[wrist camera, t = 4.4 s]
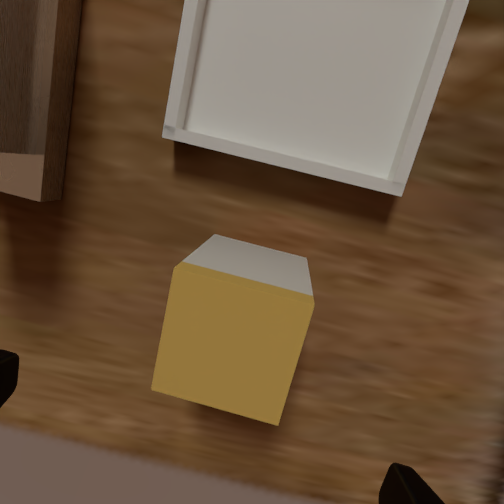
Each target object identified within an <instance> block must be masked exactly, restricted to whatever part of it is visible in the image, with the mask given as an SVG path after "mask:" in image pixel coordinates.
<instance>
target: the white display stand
mask: <svg viewBox="0 0 504 504" xmlns="http://www.w3.org/2000/svg"><path fill="white" fill-rule="evenodd" d="M81 8H82V0H0V192H4V193H8V194H12V195H16V196H19V197H23V198H27V199H31V200H35V201H38V202H44V201H52V200H61V199H62V191H63V181H64V171H65V162H66V152H67V143H68V133H69V123H70V114H71V104H72V95H73V85H74V75H75V66H76V56H77V47H78V37H79V27H80V18H81Z"/></svg>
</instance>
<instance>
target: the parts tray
mask: <svg viewBox="0 0 504 504" xmlns="http://www.w3.org/2000/svg"><path fill="white" fill-rule="evenodd" d="M468 2H469V0H185V2H184V8H183V14H182V20H181V26H180V32H179V38H178V44H177V50H176V56H175V62H174V68H173V74H172V80H171V85H170V91H169V97H168V103H167V109H166V115H165V121H164V127H163V133H162V137H163V138H167V139H171V140H174V141H178V142H183V143H187V144H191V145H195V146H199V147H203V148H207V149H211V150H215V151H219V152H223V153H227V154H231V155H235V156H239V157H243V158H247V159H251V160H255V161H259V162H263V163H267V164H271V165H275V166H279V167H283V168H287V169H291V170H295V171H299V172H303V173H307V174H311V175H315V176H319V177H323V178H327V179H331V180H335V181H339V182H344V183H348V184H352V185H356V186H360V187H364V188H368V189H372V190H376V191H380V192H384V193H388V194H392V195H396V196H400V197H402V194H403V191H404V188H405V185H406V182H407V179H408V176H409V173H410V170H411V168H412V165H413V162H414V159H415V156H416V153H417V150H418V147H419V144H420V141H421V139H422V136H423V133H424V130H425V127H426V124H427V121H428V118H429V115H430V112H431V110H432V107H433V104H434V101H435V98H436V95H437V92H438V89H439V86H440V83H441V81H442V78H443V75H444V72H445V69H446V66H447V63H448V60H449V57H450V54H451V52H452V49H453V46H454V43H455V40H456V37H457V34H458V31H459V28H460V25H461V23H462V20H463V17H464V14H465V11H466V8H467V5H468Z"/></svg>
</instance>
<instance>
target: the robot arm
mask: <svg viewBox="0 0 504 504" xmlns="http://www.w3.org/2000/svg"><path fill="white" fill-rule="evenodd" d="M18 369H19V356H18V355H17V354H16V353H13V352H10V351H6V350H1V349H0V408H1V406H2V405H3V404H4V403H5V402H6V401H7V399H8V398H9V397H10V396H11V395H12V393H13V392H14V390H15V388H16V386H17V380H18ZM379 504H445V503H444V502H443V501H442V500H441V499H440V498H439V497H438V496H437V494H436V493H435V492H434V491H433V490H432V489H431V488H430V487H429V486H428V485H427V484H426V482H425V481H424V480H423V479H422V478H421V477H420V476H419V475H418V474H417V473H416V471H415V470H414V469H413V468H411V467H409V466H406V465H402V464H399V463H392V464H391V465H390V467H389V469H388V472H387V474H386V476H385V479H384V481H383V484H382V486H381V488H380V492H379Z"/></svg>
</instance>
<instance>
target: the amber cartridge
mask: <svg viewBox="0 0 504 504" xmlns="http://www.w3.org/2000/svg"><path fill="white" fill-rule="evenodd" d="M314 306H315V304H314V298H313V292H312V286H311V280H310V275H309V269H308V263H307V258H305V257H301V256H297V255H293V254H289V253H285V252H282V251H278V250H274V249H270V248H266V247H262V246H258V245H254V244H251V243H247V242H243V241H239V240H235V239H231V238H227V237H224V236H220V235H216V234H214V235H213V236H212V237H211V238H210V239H208V240H207V241H206V242H205V243H204V244H202V245H201V246H200V247H199V248H197V249H196V250H195V251H194V252H193V253H191V254H190V255H189V256H188V257H186V258H185V259H184V260H183V261H182V262H180V263H179V264H178V265H177V266H176V267H174V270H173V276H172V281H171V286H170V291H169V297H168V302H167V307H166V312H165V318H164V323H163V328H162V334H161V339H160V344H159V349H158V355H157V360H156V365H155V370H154V376H153V381H152V386H151V390H154V391H157V392H161V393H164V394H168V395H171V396H175V397H178V398H182V399H185V400H189V401H192V402H196V403H199V404H203V405H206V406H210V407H213V408H217V409H220V410H224V411H227V412H231V413H234V414H238V415H241V416H245V417H248V418H252V419H255V420H259V421H262V422H266V423H269V424H273V425H277V426H278V424H279V421H280V418H281V414H282V411H283V408H284V404H285V401H286V398H287V395H288V391H289V388H290V385H291V381H292V378H293V375H294V371H295V368H296V365H297V362H298V358H299V355H300V352H301V348H302V345H303V342H304V339H305V335H306V332H307V329H308V325H309V322H310V319H311V315H312V312H313V309H314Z"/></svg>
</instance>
